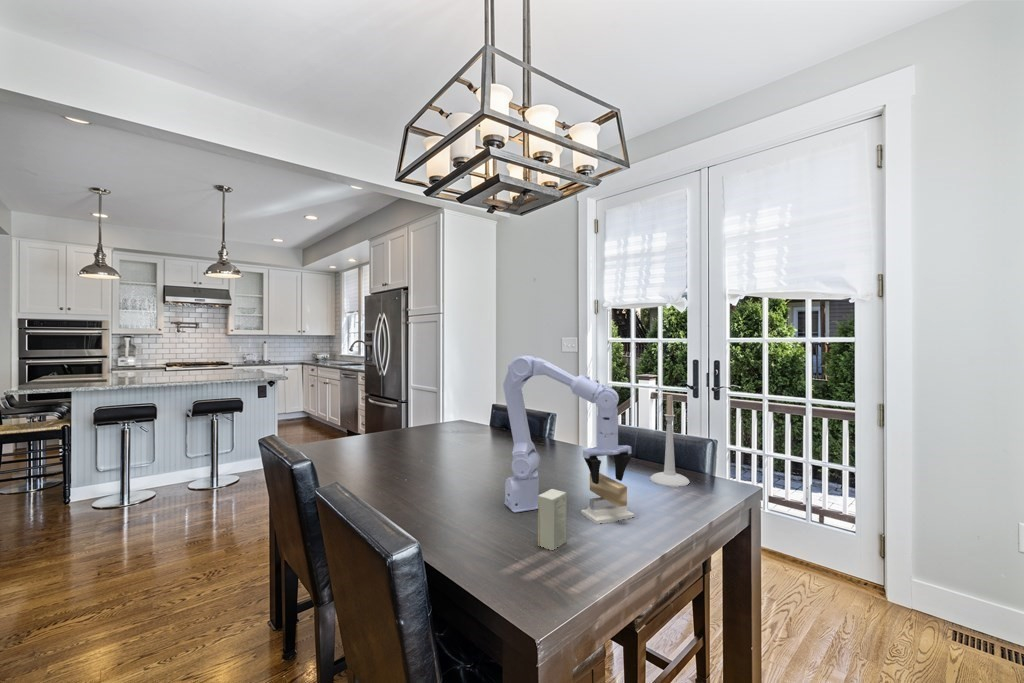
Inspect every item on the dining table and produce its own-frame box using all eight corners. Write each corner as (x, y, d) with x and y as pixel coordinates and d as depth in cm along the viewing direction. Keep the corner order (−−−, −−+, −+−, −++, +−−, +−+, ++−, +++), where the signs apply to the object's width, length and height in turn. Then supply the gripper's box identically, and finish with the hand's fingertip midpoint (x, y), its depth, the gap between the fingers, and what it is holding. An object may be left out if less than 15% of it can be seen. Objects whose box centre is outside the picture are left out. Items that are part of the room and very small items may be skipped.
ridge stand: (596, 524, 119) (596, 505, 119) (581, 513, 126) (581, 495, 126) (634, 517, 123) (634, 499, 123) (617, 507, 131) (617, 490, 131)
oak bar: (618, 507, 118) (617, 487, 118) (589, 490, 131) (589, 473, 131) (626, 505, 119) (626, 486, 119) (598, 489, 132) (598, 472, 132)
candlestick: (695, 487, 148) (695, 396, 148) (656, 487, 149) (656, 396, 149) (681, 475, 161) (681, 392, 161) (645, 475, 161) (645, 391, 161)
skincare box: (552, 537, 111) (552, 488, 111) (567, 542, 108) (567, 491, 108) (537, 546, 106) (536, 494, 106) (552, 552, 103) (552, 499, 103)
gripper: (592, 437, 118) (592, 489, 118) (638, 433, 123) (638, 482, 124) (578, 432, 125) (578, 481, 125) (622, 428, 130) (622, 475, 130)
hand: (607, 481), depth 125 cm, fingers open, 7 cm apart
